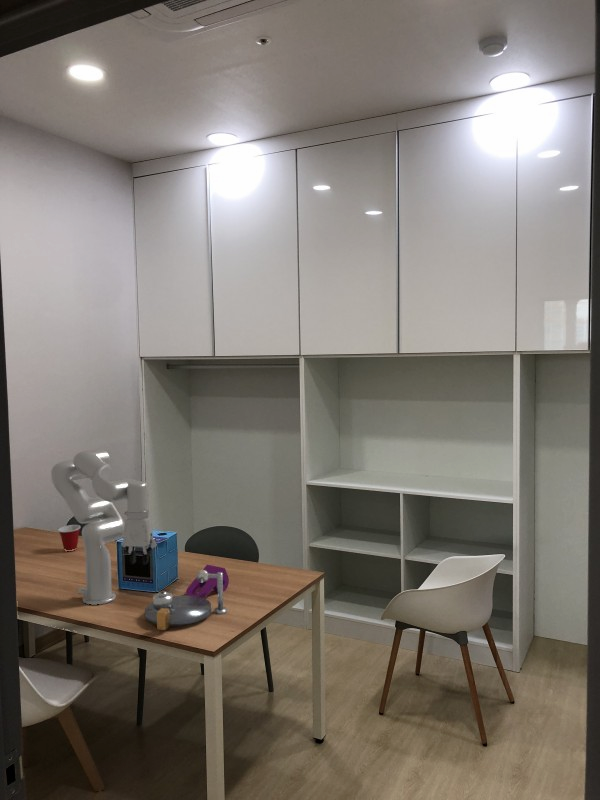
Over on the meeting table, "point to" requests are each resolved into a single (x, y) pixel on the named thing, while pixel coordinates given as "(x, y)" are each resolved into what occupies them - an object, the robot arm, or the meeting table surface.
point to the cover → (162, 600)
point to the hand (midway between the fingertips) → (139, 563)
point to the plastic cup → (69, 536)
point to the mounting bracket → (208, 583)
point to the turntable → (179, 612)
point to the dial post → (203, 577)
